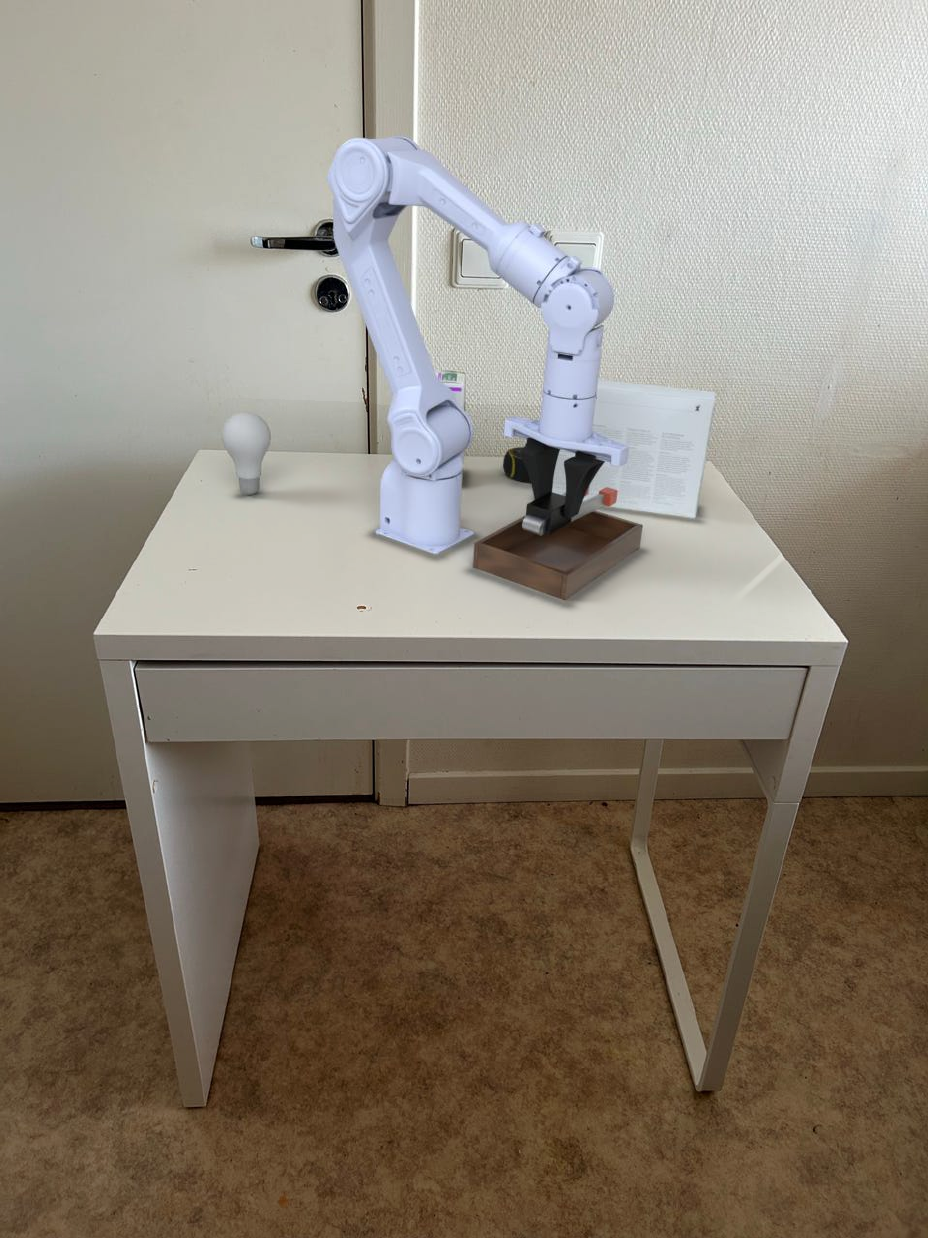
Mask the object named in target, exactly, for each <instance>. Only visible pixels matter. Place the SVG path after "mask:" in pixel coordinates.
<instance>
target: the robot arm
mask: <svg viewBox="0 0 928 1238" xmlns="http://www.w3.org/2000/svg"><path fill="white" fill-rule="evenodd" d="M326 181H327V183H328V186H329V190H330V191H331V195H332V196H333V200H332V201H333V203H332V204H333V205H332V206H333V213H332V214H333V215H332V219H333V220H332V221H333V222H332V223H333V225H332V226H333V227H332V228H333V240H334V244H335V247H336V250H337V253H338V255H339V257H340V260H341V262H342V265H343V268H344V271H345V274H346V276H347V279H348V281H349V284H350V287H351V288H352V292H353V294H354V297H355V300H356V303H357V305H358V308H359V310H360V313H361V315H362V319H363V321H364V323H365V326H366V329H367V332H368V334H369V337H370V339H371V342H372V345H373V348H374V350H375V353H376V355H377V358H378V361H379V364H380V366H381V369H382V371H383V374H384V376H385V380H386V382H387V385H388V387H389V389H390V393H391V395H392V398H391V401H390V406H389V409H388V413H387V415H386V416H387V417H386V421H387V423H388V424H387V425H388V426H389V430H390V435H391V442H390V443H391V444H390V447H391V449H390V450H391V454H392V457H393V460H391V462H389V463H388V464H387V466H386V467H385V469H384V470H383V473H382V475H381V478H380V483H379V528H378V529H376V530H375V535H377V536H378V535H381V536H384V537H387V538H389V539H392V540H394V541H397V542H401V543H404V544H405V545H409V546H411V547H413V548H417V549H419V550H422V551H425V552H428V553H431V554H435V555H437V554H440V553H442V552H443V551H445V550H447V549H449V548H451V547H453V546H454V545H457V544H459V543H460V542H462V541H464V540H466V539H468V538H470V537H472V536H473V535H475V532H474V531H473V530H470V529H466V528H464V527H461V526H460V525H461V509H462V491H463V489H462V488H463V480H462V469H463V470H464V464H463V463H462V452H463V451H464V452H465V451H466V450H467V449H468V448H469V446H470V445H471V443H472V441H473V438H474V427H473V423H472V421H471V417H470V416H469V415H468V414H467V412H466V410H465V411H464V410H463V409H462V408H461V407H460V406H459V404H458V403H457V401H456V399H455V397H454V394H453V391H452V390H451V389H450V388H449V387H447V386H446V385H445V384H443V383H442V382H441V381H439V380H438V379H437V376H436V374H435V371H436V370H435V368H434V366H433V363H432V360H431V357H430V355H429V351H428V349H427V346H426V343H425V341H424V338H423V335H422V332H421V330H420V327H419V324H418V322H417V319H416V316H415V313H414V310H413V308H412V305H411V302H410V299H409V296H408V294H407V290H406V288H405V286H404V283H403V280H402V278H401V274H400V271H399V269H398V266H397V263H396V261H395V258H394V255H393V252H392V250H391V247H390V244H389V238H390V236H391V234H392V231H393V229H394V228H395V225H396V222H397V220H398V218H399V216H400V215H401V214H402V213H403V212H404V211H405V209H407V207H408V206H409V207H424V208H427V209H429V211H431V212H432V213H434V214H435V215H436V216H438V217H439V218H441V219H442V220H443V221H445V222H447V224H449V225H450V226H452V227H453V228H454V229H456V230H457V231H458V232H460V233H461V234H463V235H464V236H465V237H467V238H468V239H470V240H471V241H473V243H475V244H477V246H479V247H481V248H482V249H484V251H486V252H487V253H486V254H487V256H488V257H487V258H488V263H489V267H490V270H491V271H492V272H493V273H494V274H496V275H497V276H498V277H499V278H500V279H502V280H503V281H504V282H505V283H507V284H508V285H509V286H510V287H511V288H513V289H514V290H515V291H517V292H518V293H519V294H520V295H521V296H523V298H525V299H526V300H528V301H529V302H530V303H531V304H533V305H534V306H535V307H537V308H538V309H540V312H541V318H542V320H543V322H544V324H545V326H546V327H547V329H548V332H547V333H548V335H547V344H546V349H545V360H544V372H543V383H542V393H541V403H540V404H541V405H540V416H539V419H533V418H527V417H521V416H517V415H513V416H510V417H508V418H505V419H504V427H503V437H506V438H511V439H512V438H519V439H522V440H525V441H526V443H525V446H522V447H523V448H521V449H520V457H521V458H522V460H523V462H524V464H525V466H526V469H527V471H528V474H529V477H530V480H531V482H530V483H531V489H532V494H533V500H535V499H537V498H539V497H541V496H543V495H545V494H547V493H549V492H552V488H553V477H554V471H555V467H556V463H557V459H558V455H559V452H560V449H562V450H565V451H569V452H572V453H575V457H571V458H569V459H567V460H565V461H564V469H565V476H566V497H565V505H564V517H565V518H568V519H571V518H572V517H574V516H576V515H578V513H579V510H580V507H581V504H582V501H583V499H584V496H585V494H586V492H587V490H588V488H589V486H590V484H591V482H592V480H593V478H594V477H595V475H596V474H597V472H598V471H599V469H600V468H601V466H602V465H603V464H604V462H609V463H610V465H611V466H615V467H620V466H622V465H624V464H626V463H627V459H628V452H629V446H628V445H625V444H622V443H619V442H616V441H614V440H612V439H609V438H607V437H605V436H603V435H600V434H598V433H596V432H594V431H592V429H593V421H594V412H595V404H596V396H597V388H598V380H600V370H601V363H602V362H601V361H602V352H603V350H602V348H603V347H602V346H603V339H604V330H605V325H604V324H602V323H604V322H605V321H606V319H608V317H609V316H610V315H611V313H612V311H613V308H614V305H615V292H614V288H613V286H612V283H611V281H609V279H608V278H607V277H606V276H605V275H604V273H603V271H602V270H600V269H598V268H595V267H590V266H589V267H588V266H586V267H581V265H582V264H583V260H581V259H580V258H579V257H578V256H576V255H573V256H571V257H570V256H569V255H568V254H567V253H565V252H564V251H562V249H560V248H559V247H558V246H557V245H555V244H554V243H553V242H552V241H550V240H549V239H548V238H546V237H545V234H546V232H547V229H546V228H545V227H543V226H542V225H541V224H540V223H533V224H531V225H530V224H529V223H528V222H526V221H517V222H513V223H508V222H507V221H506V220H505V219H503V217H501V216H500V214H498V213H496V212H495V210H493V209H492V208H491V207H490V206H489V205H488V204H487V203H486V202H484V201H483V200H482V199H481V198H480V197H479V196H478V195H477V194H475V193H474V192H473V191H472V190H470V188H468V187H467V186H466V185H465V184H464V183H463V182H462V181H461V180H459V179H458V177H456V176H455V175H454V174H452V172H451V171H449V170H448V169H447V168H446V167H445V166H444V165H443V164H442V163H441V162H440V161H439V160H438V158H437V157H436V156H435V155H434V154H433V153H431V152H430V151H428V150H426V149H424V148H423V149H422V148H420V146H419V145H418V144H417V142H415V141H414V140H412V139H411V138H409V137H407V136H402V135H394V136H391V137H383V138H382V137H381V138H367V137H353V138H350V139H349V140H346V141H345V142H344V143H343V144H342V145H340V147H339V148H338V150H337V151H336V153H335V155H334V157H333V160H332V162H331V165H330V167H329V169H328V172H327V175H326Z"/></svg>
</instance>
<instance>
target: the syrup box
mask: <svg viewBox="0 0 928 1238" xmlns="http://www.w3.org/2000/svg"><path fill="white" fill-rule="evenodd" d="M434 371H435V374H436V376H437V379H438V380H439V381H441V382H442V383H443V384H445V385H446V386H447V387H449V388H450V389H451V390H452V391H453V394H454V397H455V399H456V401H457V403H458V404H459V406H460V407H461V408H462V409H463V410H464V411H465V412H466V392H467V391H466V389H467V388H466V386H467V385H466V384H467V374H466V372H464V371H456V370H447V369H446V370H443V369H442V370H438V369H437V370H434ZM464 460H465V451H463V452H462V463H463V465H464V463H465V462H464ZM463 478H464V468H463V469H462V481H463Z"/></svg>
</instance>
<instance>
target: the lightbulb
mask: <svg viewBox="0 0 928 1238" xmlns="http://www.w3.org/2000/svg"><path fill="white" fill-rule="evenodd" d="M221 440H222V444H223V447H224V448H225V450H226V452H227V453H228V455H229V456H230V458H231V459H232V462H233V464H234V467H235V474H236V476H237V477H238V485H239V490H240V492H241V493H243V494H245V495H247V496H253V495H255V493H257V492H259V490H260V485H261V484H260V481H261V479H260V476H261V475H262V464H263V461H264V457H265V455H266V454H267V452H268V450H269V447H270V445H271V440H272V434H271V430H270V428H269V425H268V423H267V422H266V421H265V420H264V418H263V417H261V416H260V415H258V414H256V413H253V412H251V411H240V412H237V413H234V414H233V415H231V416H229V417H228V418H227V420H226V421H225V422H224V424H223V426H222V430H221Z"/></svg>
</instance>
